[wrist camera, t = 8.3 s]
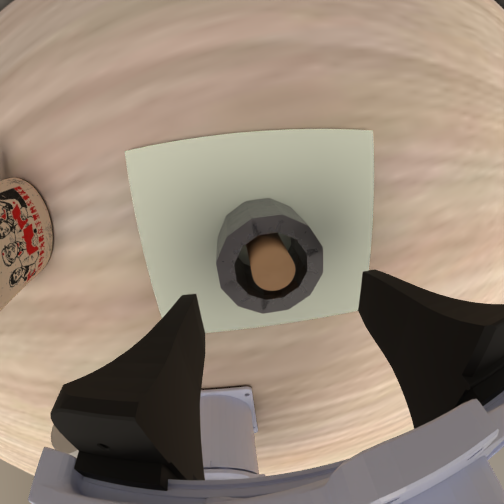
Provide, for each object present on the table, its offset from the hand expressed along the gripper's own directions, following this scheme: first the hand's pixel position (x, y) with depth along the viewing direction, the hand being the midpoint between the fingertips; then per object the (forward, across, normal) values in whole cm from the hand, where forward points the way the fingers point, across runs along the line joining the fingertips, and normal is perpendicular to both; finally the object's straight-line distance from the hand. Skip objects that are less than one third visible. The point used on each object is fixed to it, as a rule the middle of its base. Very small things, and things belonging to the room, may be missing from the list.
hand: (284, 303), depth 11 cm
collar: (+7, 0, 0) cm, 7 cm away
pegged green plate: (+8, 0, 0) cm, 8 cm away
